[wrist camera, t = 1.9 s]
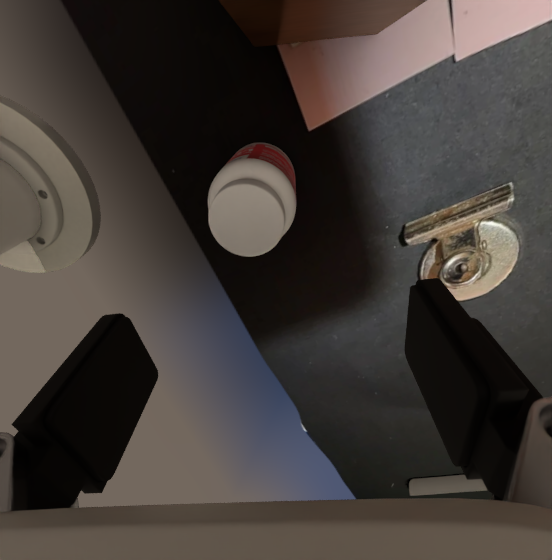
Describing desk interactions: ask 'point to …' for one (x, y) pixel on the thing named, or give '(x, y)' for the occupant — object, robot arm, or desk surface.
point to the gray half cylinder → (444, 485)
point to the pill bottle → (252, 200)
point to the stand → (313, 18)
